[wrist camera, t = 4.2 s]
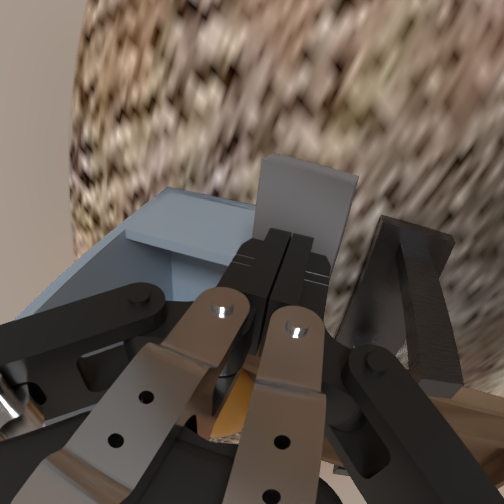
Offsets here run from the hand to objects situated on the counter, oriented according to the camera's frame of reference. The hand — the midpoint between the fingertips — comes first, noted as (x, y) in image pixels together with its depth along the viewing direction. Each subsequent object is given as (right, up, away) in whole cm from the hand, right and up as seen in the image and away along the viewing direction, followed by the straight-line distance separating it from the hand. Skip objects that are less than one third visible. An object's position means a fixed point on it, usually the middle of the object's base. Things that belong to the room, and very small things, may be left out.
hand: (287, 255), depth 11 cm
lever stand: (+8, -4, +11) cm, 14 cm away
